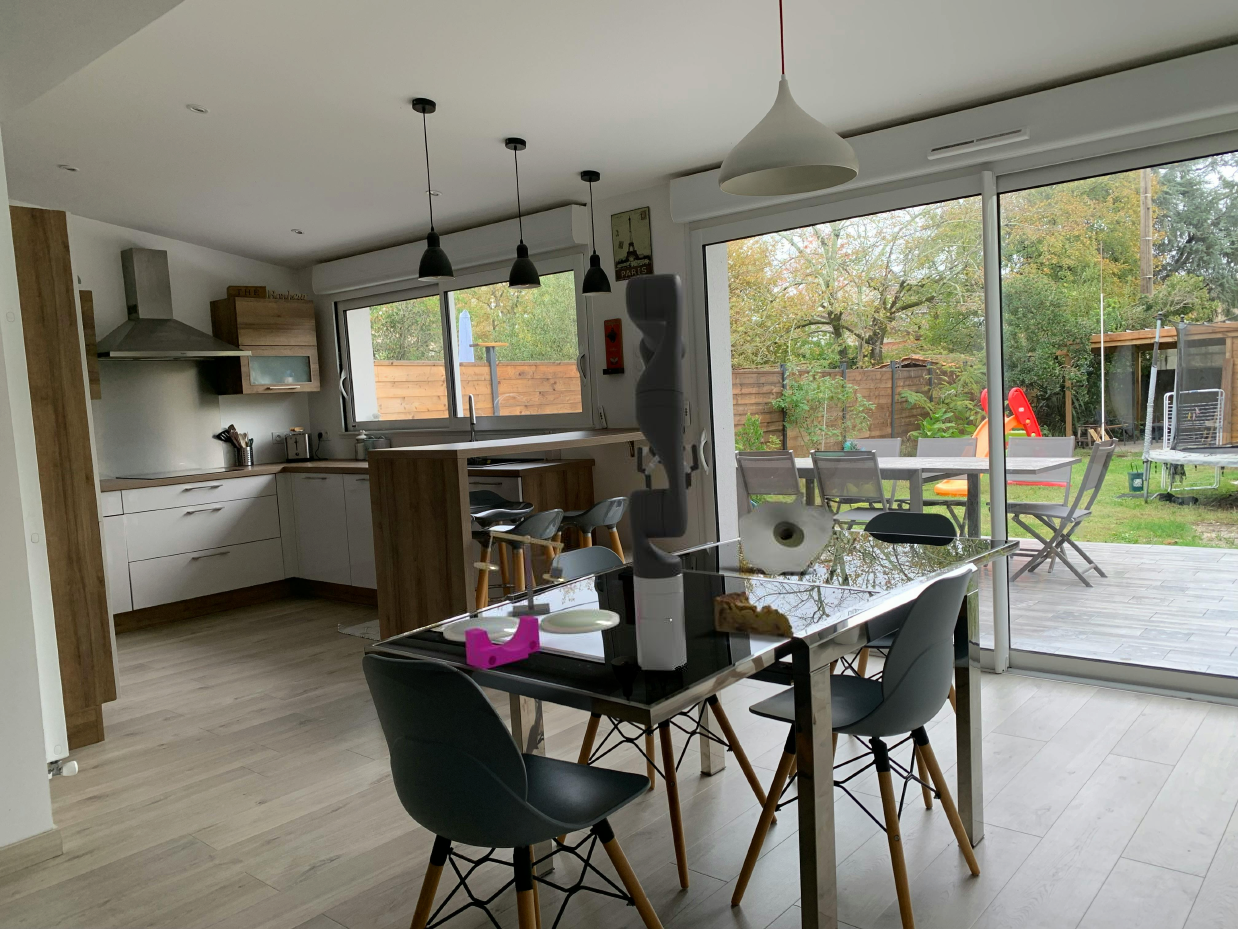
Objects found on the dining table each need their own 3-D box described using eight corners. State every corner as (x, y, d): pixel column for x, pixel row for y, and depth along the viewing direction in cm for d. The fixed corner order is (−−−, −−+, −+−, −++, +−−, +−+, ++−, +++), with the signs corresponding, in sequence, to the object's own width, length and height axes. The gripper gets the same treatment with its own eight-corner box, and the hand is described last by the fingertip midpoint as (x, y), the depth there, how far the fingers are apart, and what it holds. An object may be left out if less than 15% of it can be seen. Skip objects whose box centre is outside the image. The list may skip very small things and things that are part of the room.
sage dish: (609, 635, 191) (608, 629, 191) (530, 634, 195) (530, 628, 195) (626, 614, 208) (626, 609, 208) (554, 613, 212) (554, 608, 212)
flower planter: (816, 603, 254) (724, 575, 265) (845, 511, 264) (755, 488, 275) (813, 585, 240) (716, 556, 251) (844, 489, 250) (749, 466, 261)
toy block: (484, 674, 169) (481, 636, 168) (467, 667, 174) (465, 630, 173) (547, 656, 178) (545, 620, 178) (529, 650, 183) (527, 615, 183)
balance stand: (513, 610, 218) (508, 543, 217) (549, 607, 219) (545, 541, 218) (512, 616, 212) (508, 547, 211) (550, 613, 213) (546, 545, 212)
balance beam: (474, 563, 216) (481, 526, 216) (566, 578, 219) (573, 542, 218) (473, 567, 210) (480, 529, 210) (567, 583, 213) (574, 546, 212)
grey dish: (507, 643, 189) (507, 637, 188) (430, 642, 193) (429, 636, 193) (534, 621, 206) (533, 616, 206) (462, 621, 210) (462, 615, 210)
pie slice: (711, 633, 189) (709, 597, 188) (742, 623, 196) (740, 588, 195) (777, 649, 175) (775, 609, 175) (808, 637, 182) (807, 599, 181)
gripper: (634, 421, 199) (637, 492, 200) (697, 418, 198) (700, 490, 199) (635, 421, 207) (638, 489, 208) (696, 418, 206) (699, 487, 207)
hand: (668, 489), depth 204 cm, fingers open, 8 cm apart
